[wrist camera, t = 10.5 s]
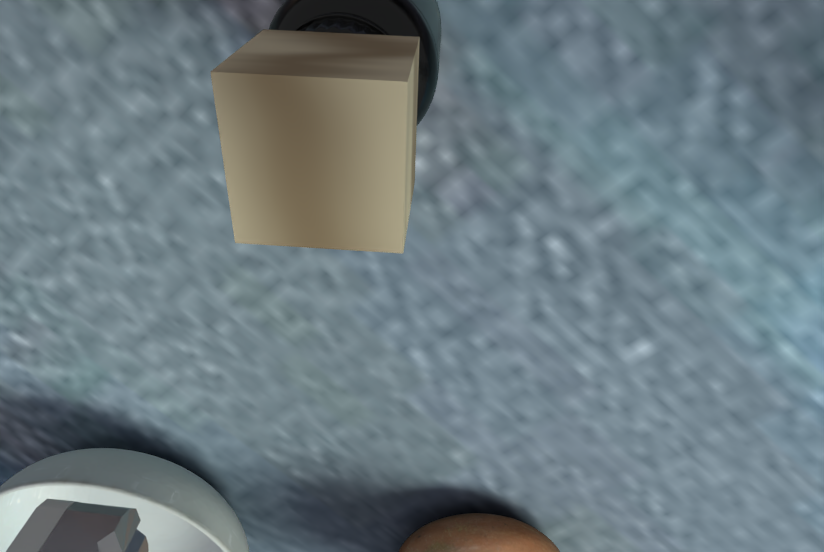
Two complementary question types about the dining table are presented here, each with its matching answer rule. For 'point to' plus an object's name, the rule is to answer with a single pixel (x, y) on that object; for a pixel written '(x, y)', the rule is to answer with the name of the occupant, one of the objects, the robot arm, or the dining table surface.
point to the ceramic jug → (477, 535)
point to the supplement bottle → (374, 28)
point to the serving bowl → (127, 498)
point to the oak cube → (320, 138)
